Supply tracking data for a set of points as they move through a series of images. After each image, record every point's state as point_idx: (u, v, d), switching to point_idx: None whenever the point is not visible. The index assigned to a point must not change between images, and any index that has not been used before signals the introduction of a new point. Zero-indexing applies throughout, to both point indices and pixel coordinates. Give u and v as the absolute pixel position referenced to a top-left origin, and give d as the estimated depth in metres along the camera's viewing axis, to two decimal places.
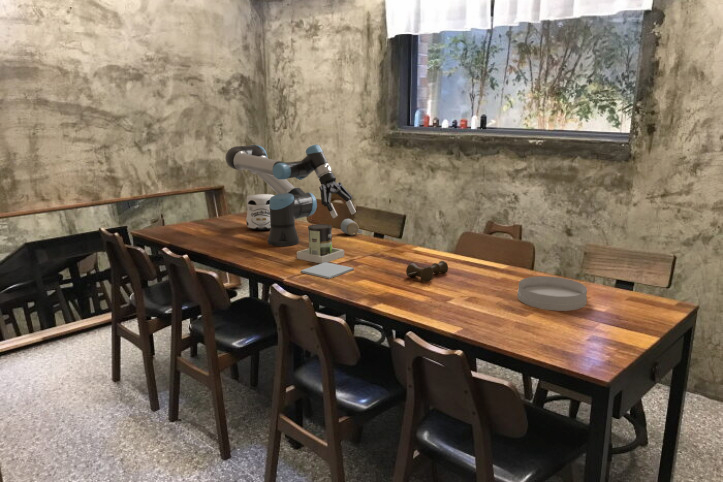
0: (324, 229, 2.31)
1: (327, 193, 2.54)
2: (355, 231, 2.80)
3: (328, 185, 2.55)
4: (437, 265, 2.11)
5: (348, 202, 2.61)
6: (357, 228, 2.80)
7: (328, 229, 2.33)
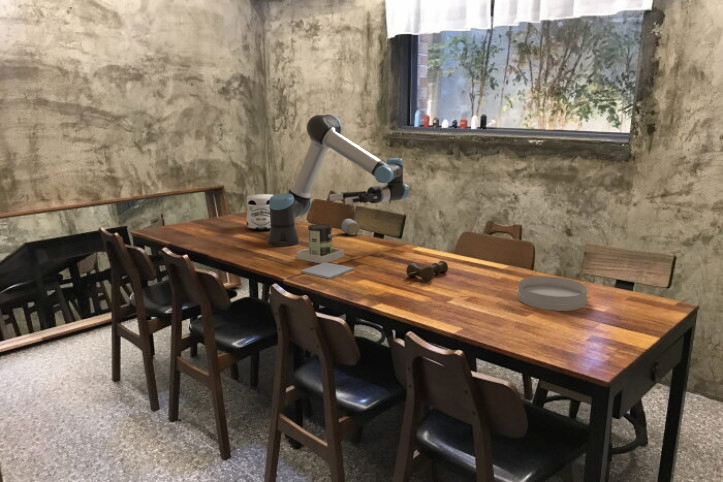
0: (324, 229, 2.31)
1: None
2: (356, 231, 2.80)
3: None
4: (437, 265, 2.11)
5: (341, 197, 2.47)
6: (358, 228, 2.80)
7: (328, 229, 2.33)
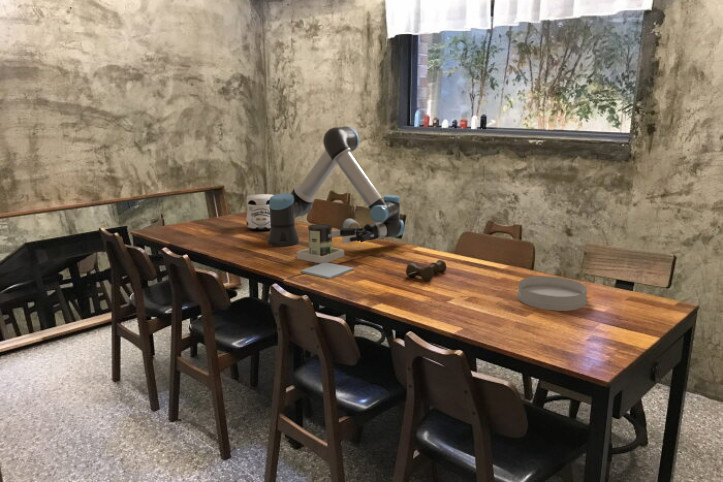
0: (324, 229, 2.31)
1: (363, 235, 2.43)
2: None
3: None
4: (436, 264, 2.12)
5: (338, 233, 2.48)
6: None
7: (328, 229, 2.33)
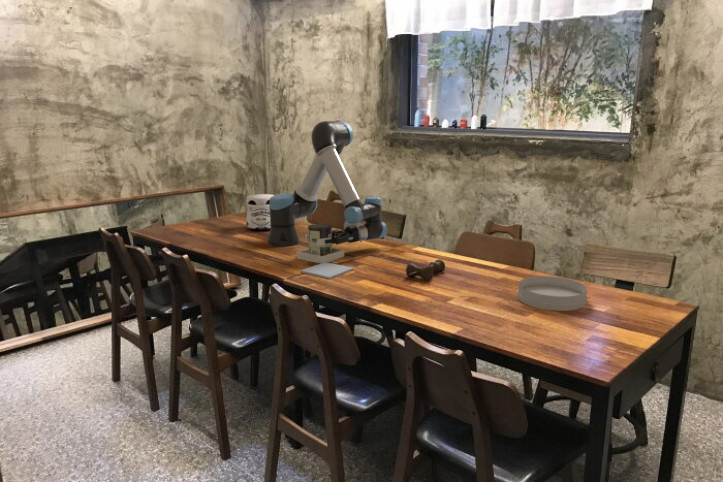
0: (324, 229, 2.31)
1: None
2: None
3: None
4: (435, 264, 2.12)
5: None
6: None
7: (328, 229, 2.33)
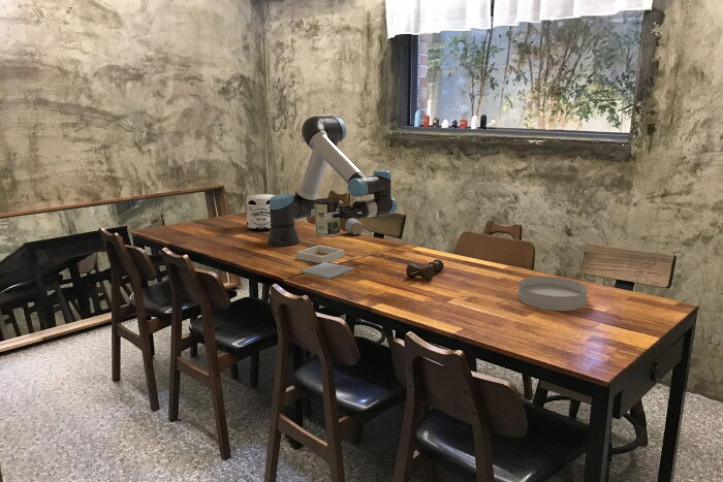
0: (332, 202, 2.17)
1: None
2: (359, 231, 2.81)
3: None
4: (434, 264, 2.13)
5: None
6: (361, 228, 2.81)
7: (336, 202, 2.18)
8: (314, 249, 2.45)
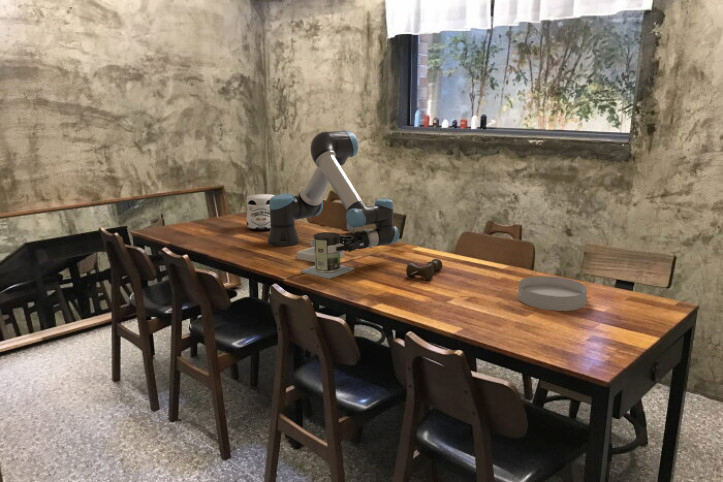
0: (331, 238, 2.11)
1: (351, 243, 2.17)
2: (361, 230, 2.81)
3: None
4: (433, 263, 2.14)
5: None
6: (363, 227, 2.81)
7: (336, 238, 2.12)
8: (314, 249, 2.45)
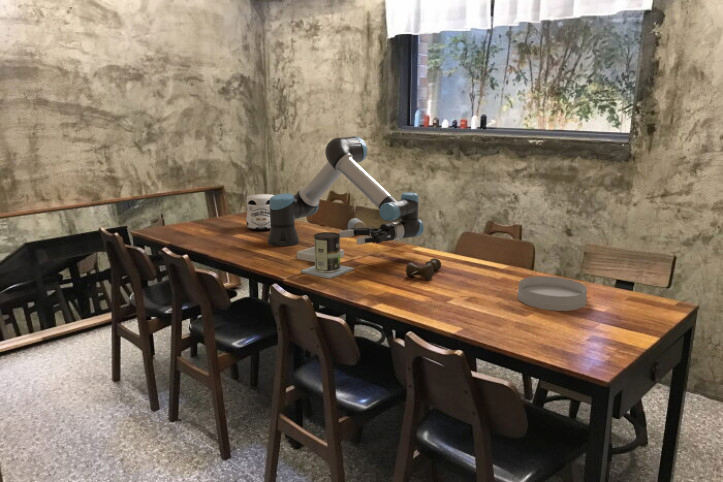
0: (332, 238, 2.11)
1: (379, 235, 2.24)
2: None
3: None
4: (432, 263, 2.14)
5: (352, 233, 2.30)
6: (364, 227, 2.82)
7: (336, 238, 2.12)
8: (314, 249, 2.45)
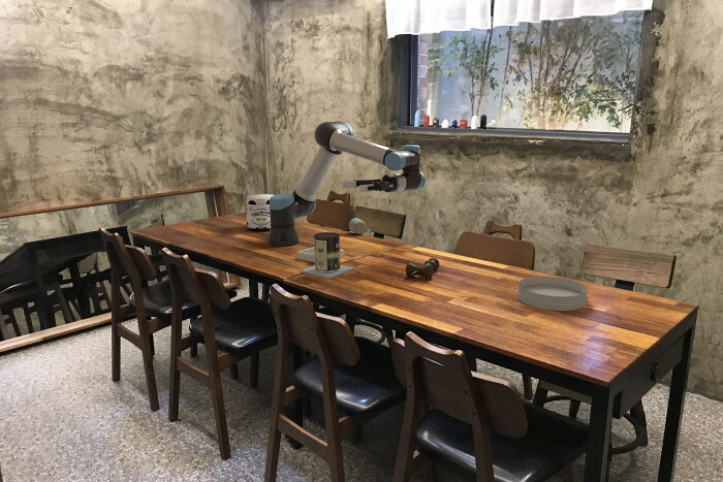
0: (331, 238, 2.11)
1: None
2: (363, 230, 2.82)
3: None
4: (431, 262, 2.15)
5: (354, 184, 2.32)
6: (365, 227, 2.82)
7: (336, 238, 2.12)
8: (314, 249, 2.45)
